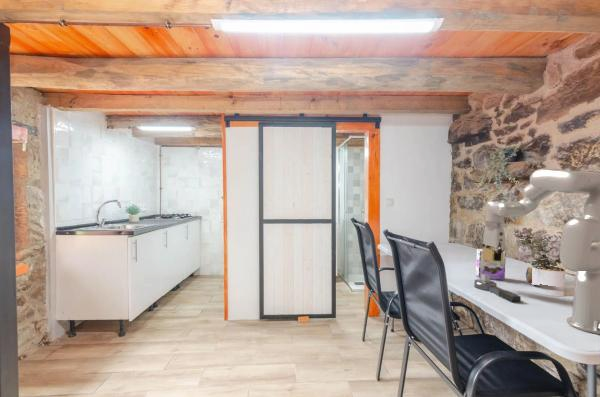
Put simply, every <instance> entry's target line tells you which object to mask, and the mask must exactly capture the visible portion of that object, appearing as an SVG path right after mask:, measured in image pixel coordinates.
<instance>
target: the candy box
mask: <svg viewBox="0 0 600 397" xmlns="http://www.w3.org/2000/svg"><path fill="white" fill-rule="evenodd" d="M506 256H507V252H505V250H504V251H503V262H490V261H487V260H485V259H483V248H476V257H475V258H476V259H475V274H474V275H475V276H476V277H477V278H479V279H481V274H488V275H490V280H500V281H505V279H506V277H505V276H506V258H507V257H506Z"/></svg>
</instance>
